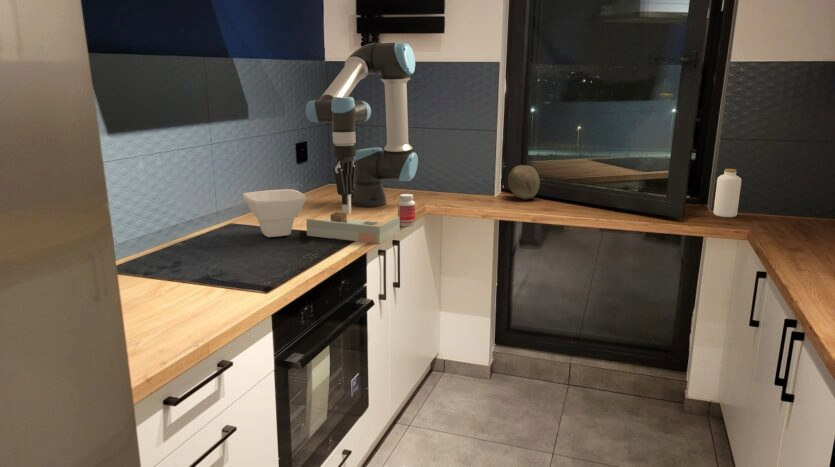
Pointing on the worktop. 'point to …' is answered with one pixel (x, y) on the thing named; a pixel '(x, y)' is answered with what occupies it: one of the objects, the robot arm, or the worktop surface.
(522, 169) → the cantaloupe
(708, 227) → the worktop surface
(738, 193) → the potion bottle
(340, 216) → the walnut block
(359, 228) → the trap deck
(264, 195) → the bowl
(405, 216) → the pill bottle
